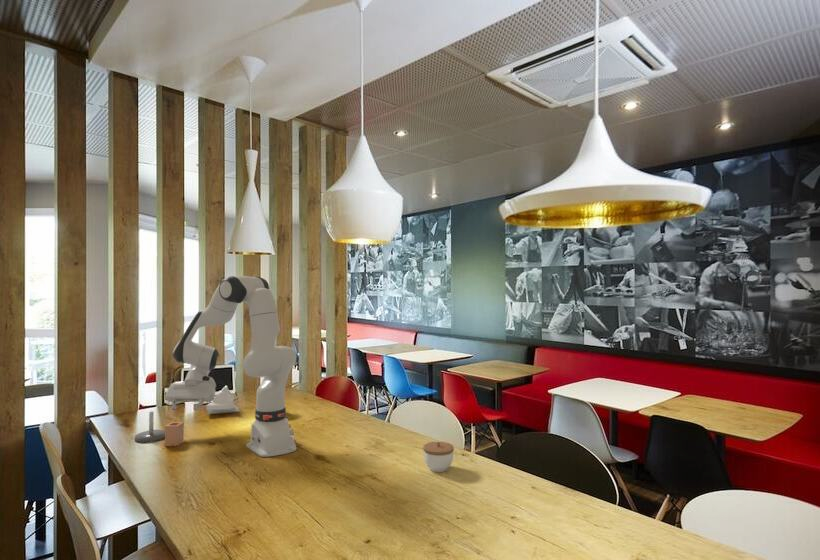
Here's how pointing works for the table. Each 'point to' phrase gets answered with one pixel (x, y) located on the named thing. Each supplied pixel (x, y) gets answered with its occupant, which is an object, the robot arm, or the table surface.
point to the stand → (150, 432)
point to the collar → (174, 433)
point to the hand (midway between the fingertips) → (184, 409)
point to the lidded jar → (438, 455)
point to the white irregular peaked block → (222, 403)
